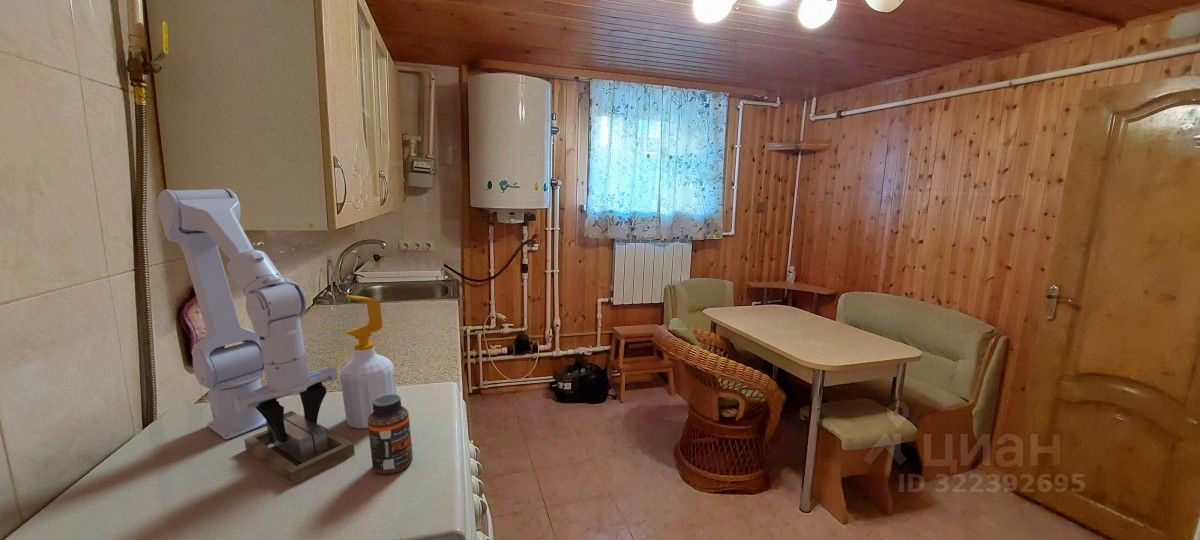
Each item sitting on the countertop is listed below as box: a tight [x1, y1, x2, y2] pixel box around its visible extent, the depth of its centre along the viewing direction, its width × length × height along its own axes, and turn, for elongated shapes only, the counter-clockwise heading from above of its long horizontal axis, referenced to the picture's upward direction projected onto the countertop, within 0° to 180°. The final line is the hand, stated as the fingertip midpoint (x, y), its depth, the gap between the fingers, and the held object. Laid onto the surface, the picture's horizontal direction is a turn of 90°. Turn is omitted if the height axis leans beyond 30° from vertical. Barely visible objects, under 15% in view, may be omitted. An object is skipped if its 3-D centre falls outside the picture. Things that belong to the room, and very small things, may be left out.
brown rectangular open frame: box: [243, 415, 356, 486], centre depth 78 cm, size 17×9×2 cm, turn 56°
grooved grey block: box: [266, 410, 330, 464], centre depth 78 cm, size 12×4×4 cm, turn 56°
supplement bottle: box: [367, 394, 413, 475], centre depth 73 cm, size 6×6×11 cm
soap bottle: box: [339, 294, 398, 429], centre depth 87 cm, size 9×9×25 cm
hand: (296, 433), depth 78 cm, fingers closed on grooved grey block, 4 cm apart
